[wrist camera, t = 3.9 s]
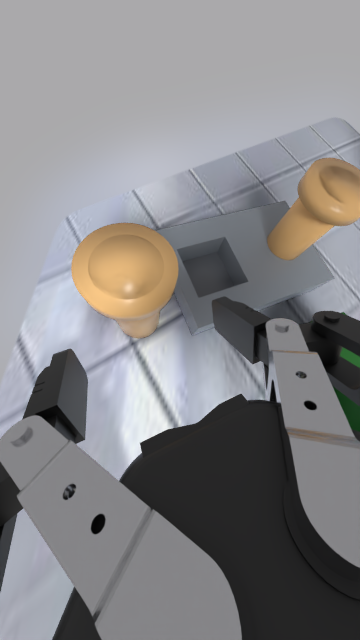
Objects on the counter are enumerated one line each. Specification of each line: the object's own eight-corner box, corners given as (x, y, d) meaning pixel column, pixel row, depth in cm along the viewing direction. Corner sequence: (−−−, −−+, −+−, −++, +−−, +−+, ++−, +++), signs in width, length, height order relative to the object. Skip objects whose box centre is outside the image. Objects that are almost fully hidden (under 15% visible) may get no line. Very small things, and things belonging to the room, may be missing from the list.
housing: (270, 219, 26) (337, 130, 17) (313, 290, 24) (418, 231, 14) (155, 248, 23) (157, 155, 13) (192, 335, 20) (226, 297, 11)
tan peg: (155, 287, 21) (158, 214, 12) (174, 335, 20) (193, 295, 10) (104, 303, 20) (60, 235, 10) (120, 354, 19) (87, 330, 9)
